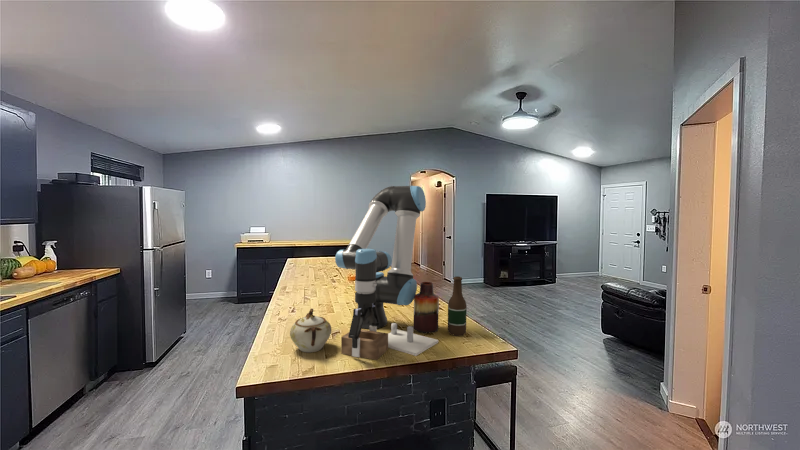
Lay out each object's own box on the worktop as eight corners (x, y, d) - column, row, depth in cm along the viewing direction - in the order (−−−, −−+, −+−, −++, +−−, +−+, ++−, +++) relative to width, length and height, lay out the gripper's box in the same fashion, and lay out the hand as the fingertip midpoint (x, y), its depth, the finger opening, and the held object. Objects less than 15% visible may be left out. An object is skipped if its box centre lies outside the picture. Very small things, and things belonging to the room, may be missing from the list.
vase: (409, 331, 148) (411, 284, 147) (417, 323, 158) (419, 279, 157) (434, 335, 144) (435, 286, 143) (440, 327, 154) (442, 281, 153)
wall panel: (373, 342, 134) (373, 326, 134) (397, 331, 147) (397, 316, 147) (415, 355, 122) (416, 337, 122) (438, 342, 135) (438, 326, 135)
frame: (341, 353, 124) (341, 337, 124) (354, 343, 133) (354, 328, 133) (376, 359, 119) (376, 342, 119) (388, 349, 128) (388, 333, 128)
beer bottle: (465, 337, 142) (467, 279, 141) (446, 335, 143) (447, 278, 142) (466, 330, 149) (467, 275, 148) (448, 329, 151) (449, 274, 150)
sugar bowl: (335, 355, 122) (335, 313, 121) (291, 361, 117) (291, 318, 116) (327, 336, 140) (327, 300, 140) (288, 341, 135) (288, 303, 134)
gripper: (358, 300, 112) (357, 364, 113) (388, 286, 135) (387, 339, 136) (338, 298, 115) (337, 360, 115) (371, 284, 138) (370, 336, 139)
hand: (364, 349), depth 126 cm, fingers open, 13 cm apart
